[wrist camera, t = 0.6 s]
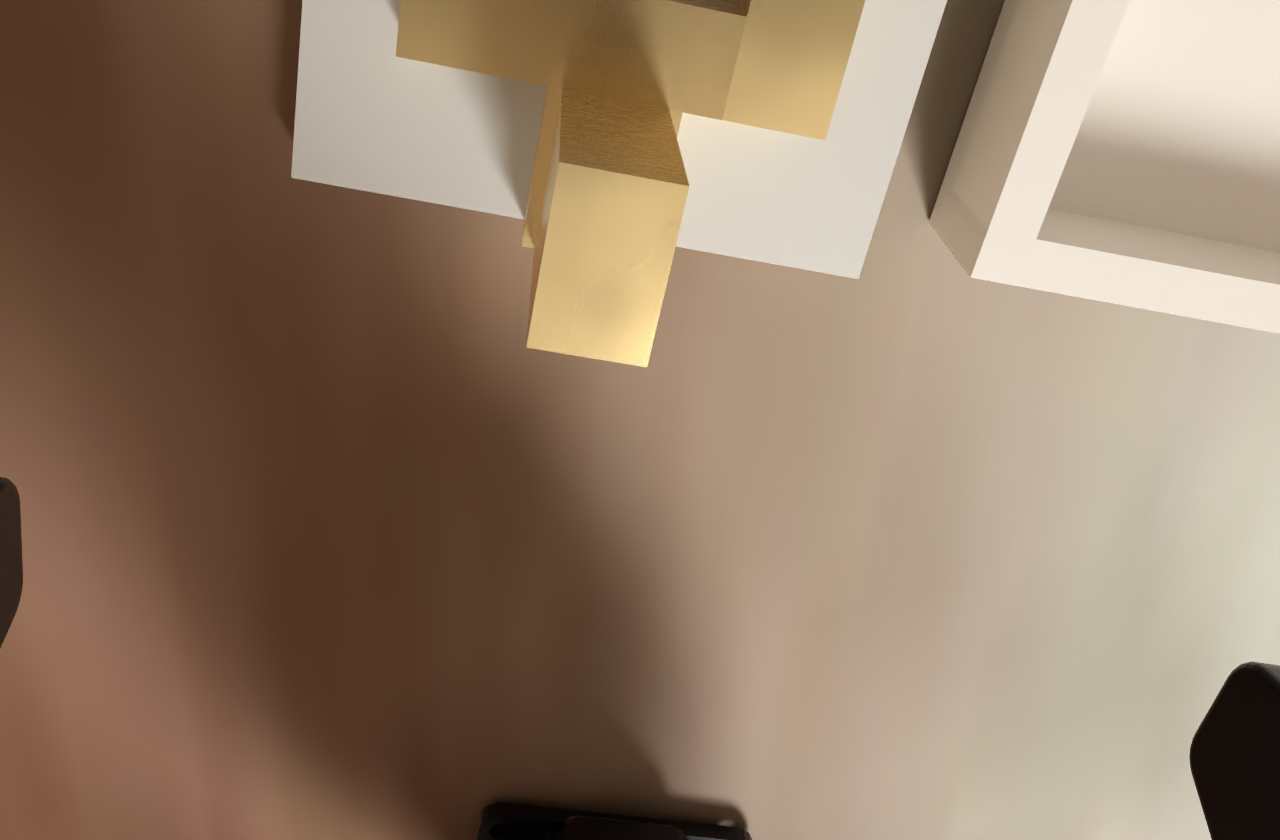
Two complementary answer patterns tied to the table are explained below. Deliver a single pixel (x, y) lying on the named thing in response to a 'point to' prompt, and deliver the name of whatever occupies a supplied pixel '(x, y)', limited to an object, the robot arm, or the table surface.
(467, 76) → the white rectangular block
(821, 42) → the tan notched block
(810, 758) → the table surface
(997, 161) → the tray
